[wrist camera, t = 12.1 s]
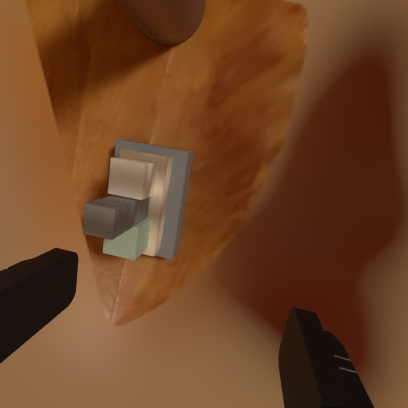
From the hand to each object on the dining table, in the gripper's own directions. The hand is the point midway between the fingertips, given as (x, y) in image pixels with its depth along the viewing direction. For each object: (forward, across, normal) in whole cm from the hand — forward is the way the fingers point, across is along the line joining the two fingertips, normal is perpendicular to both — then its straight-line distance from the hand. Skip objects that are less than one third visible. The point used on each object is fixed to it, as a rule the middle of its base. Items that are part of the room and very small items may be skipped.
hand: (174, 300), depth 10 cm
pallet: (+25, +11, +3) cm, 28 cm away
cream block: (+23, +11, -1) cm, 25 cm away
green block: (+23, +11, +6) cm, 26 cm away
